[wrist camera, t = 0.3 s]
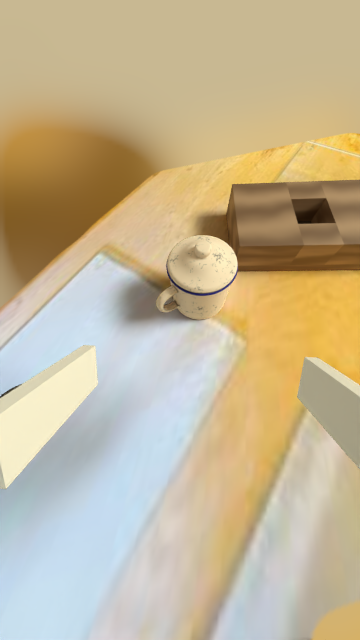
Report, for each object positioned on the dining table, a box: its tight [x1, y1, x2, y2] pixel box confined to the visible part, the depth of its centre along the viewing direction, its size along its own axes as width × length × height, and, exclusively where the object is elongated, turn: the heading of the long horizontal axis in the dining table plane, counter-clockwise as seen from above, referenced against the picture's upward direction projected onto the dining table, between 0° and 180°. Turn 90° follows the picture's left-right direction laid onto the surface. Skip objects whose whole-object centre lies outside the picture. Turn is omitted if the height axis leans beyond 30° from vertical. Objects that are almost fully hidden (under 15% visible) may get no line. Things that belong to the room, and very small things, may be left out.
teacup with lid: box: [156, 235, 238, 320], centre depth 27 cm, size 12×9×12 cm
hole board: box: [227, 180, 360, 271], centre depth 33 cm, size 14×24×6 cm, turn 89°
